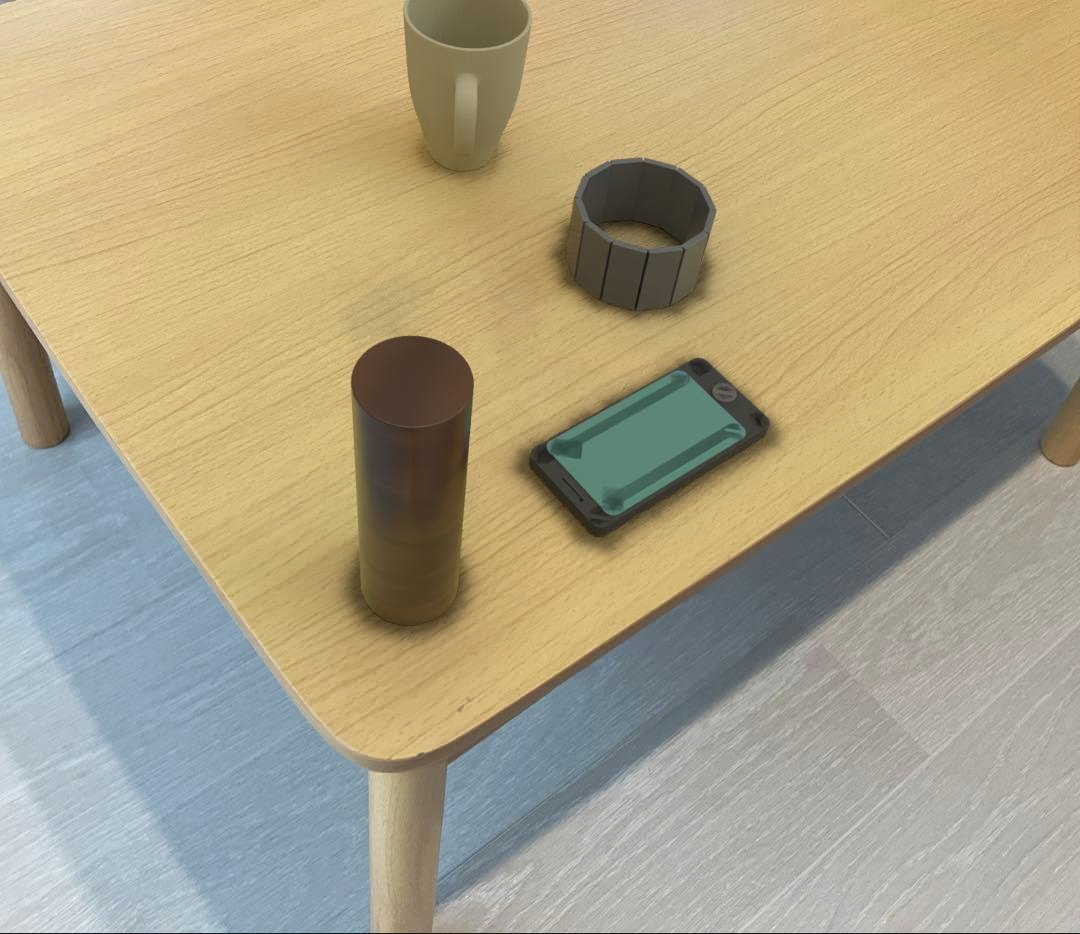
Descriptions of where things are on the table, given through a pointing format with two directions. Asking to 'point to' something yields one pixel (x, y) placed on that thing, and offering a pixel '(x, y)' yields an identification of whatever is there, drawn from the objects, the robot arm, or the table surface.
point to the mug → (465, 73)
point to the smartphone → (647, 445)
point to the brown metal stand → (411, 474)
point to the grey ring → (649, 199)
